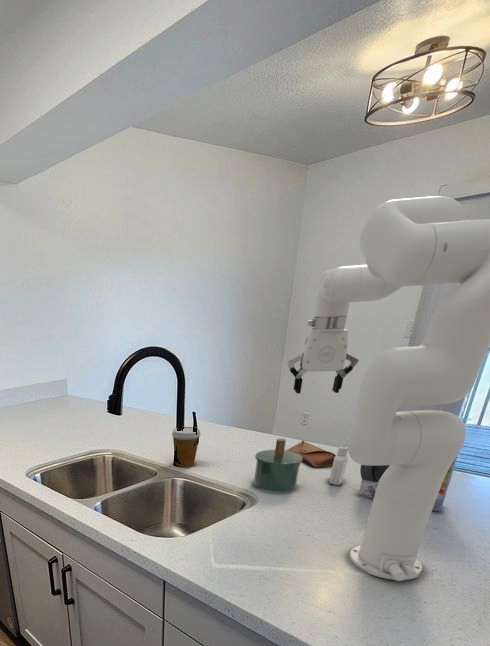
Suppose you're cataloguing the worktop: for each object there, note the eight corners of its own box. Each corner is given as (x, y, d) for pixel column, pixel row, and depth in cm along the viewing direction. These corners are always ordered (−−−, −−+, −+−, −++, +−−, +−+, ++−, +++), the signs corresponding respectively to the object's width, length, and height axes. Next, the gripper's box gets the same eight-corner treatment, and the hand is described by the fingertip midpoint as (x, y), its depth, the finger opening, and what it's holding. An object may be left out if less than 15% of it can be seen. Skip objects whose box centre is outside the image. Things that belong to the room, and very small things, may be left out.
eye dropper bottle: (349, 482, 129) (358, 443, 123) (335, 486, 127) (344, 446, 121) (336, 477, 132) (344, 439, 127) (322, 481, 130) (330, 442, 125)
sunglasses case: (280, 451, 155) (292, 434, 153) (294, 458, 158) (305, 442, 156) (315, 467, 139) (328, 448, 137) (329, 475, 142) (342, 457, 140)
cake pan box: (353, 495, 121) (368, 432, 113) (358, 489, 124) (374, 428, 116) (438, 513, 108) (462, 445, 100) (442, 507, 111) (465, 440, 103)
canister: (299, 493, 123) (304, 465, 120) (257, 492, 126) (260, 464, 122) (290, 479, 133) (295, 452, 129) (251, 478, 136) (254, 452, 132)
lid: (306, 468, 119) (311, 446, 116) (258, 467, 122) (261, 446, 119) (296, 453, 130) (299, 433, 127) (252, 453, 133) (254, 433, 130)
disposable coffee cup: (165, 462, 153) (166, 428, 147) (188, 458, 156) (190, 424, 150) (180, 470, 145) (181, 435, 139) (204, 465, 148) (207, 431, 142)
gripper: (296, 326, 110) (285, 395, 118) (371, 323, 107) (355, 394, 114) (289, 325, 117) (280, 390, 124) (360, 321, 113) (346, 389, 121)
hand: (316, 392), depth 119 cm, fingers open, 9 cm apart
